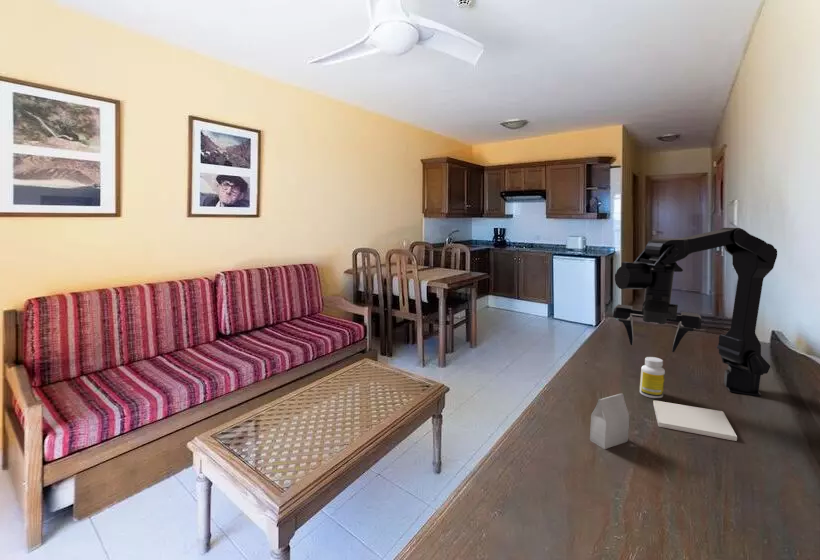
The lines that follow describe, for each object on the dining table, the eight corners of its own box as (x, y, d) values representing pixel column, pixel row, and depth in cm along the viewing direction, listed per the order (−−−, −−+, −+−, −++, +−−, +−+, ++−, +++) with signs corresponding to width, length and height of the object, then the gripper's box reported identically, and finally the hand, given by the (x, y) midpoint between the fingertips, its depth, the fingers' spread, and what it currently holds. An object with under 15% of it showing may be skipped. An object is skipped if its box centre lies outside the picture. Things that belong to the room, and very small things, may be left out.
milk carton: (627, 441, 83) (630, 397, 81) (604, 449, 80) (607, 403, 79) (612, 433, 86) (615, 390, 85) (589, 440, 84) (592, 396, 82)
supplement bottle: (666, 399, 101) (669, 363, 100) (643, 398, 102) (646, 362, 101) (658, 390, 106) (660, 356, 105) (636, 389, 107) (638, 355, 106)
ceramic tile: (722, 415, 93) (722, 411, 93) (736, 441, 82) (737, 436, 82) (653, 403, 99) (653, 400, 99) (658, 426, 88) (658, 422, 88)
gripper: (613, 289, 97) (607, 349, 100) (706, 298, 87) (697, 365, 90) (618, 283, 107) (613, 339, 109) (703, 291, 96) (695, 352, 99)
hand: (651, 348), depth 101 cm, fingers open, 9 cm apart
